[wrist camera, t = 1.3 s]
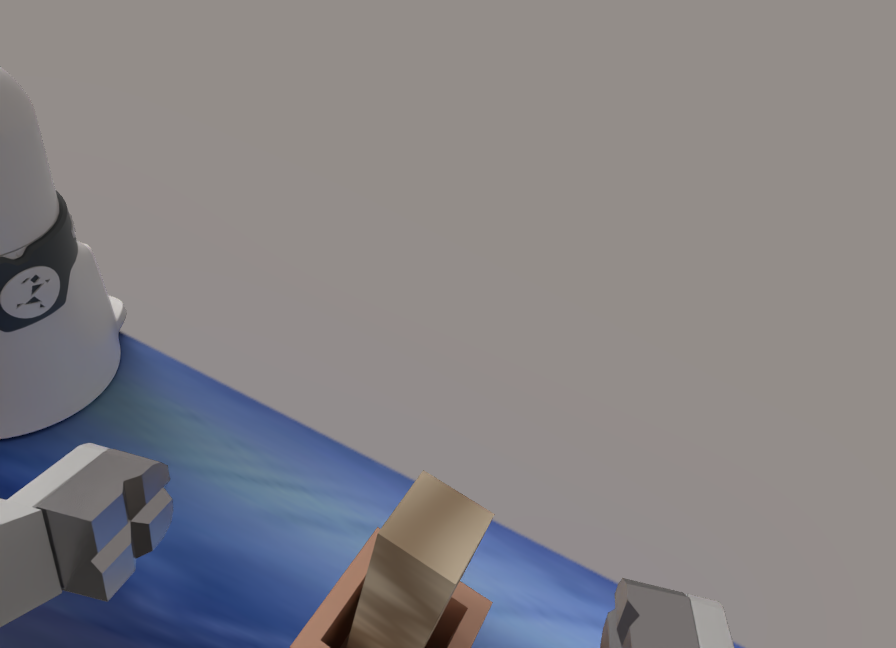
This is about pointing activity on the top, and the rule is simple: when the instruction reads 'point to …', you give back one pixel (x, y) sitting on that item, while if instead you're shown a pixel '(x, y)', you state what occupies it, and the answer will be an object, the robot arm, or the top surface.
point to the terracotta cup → (334, 618)
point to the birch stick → (417, 565)
